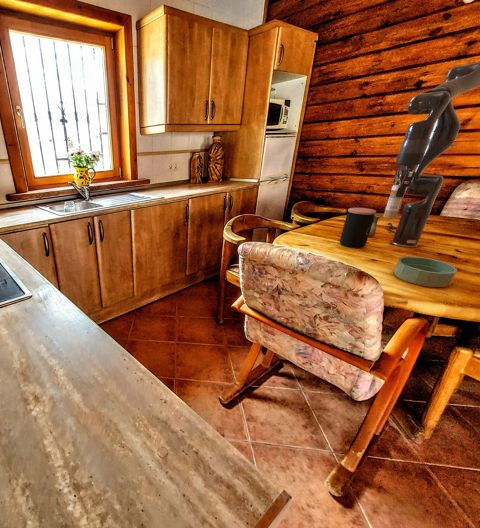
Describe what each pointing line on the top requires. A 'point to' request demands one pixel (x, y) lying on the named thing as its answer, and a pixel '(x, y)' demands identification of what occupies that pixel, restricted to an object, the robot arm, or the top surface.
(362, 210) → the coffee jar
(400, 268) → the shallow teal bowl
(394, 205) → the sprinkles bottle
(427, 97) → the robot arm
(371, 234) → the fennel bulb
